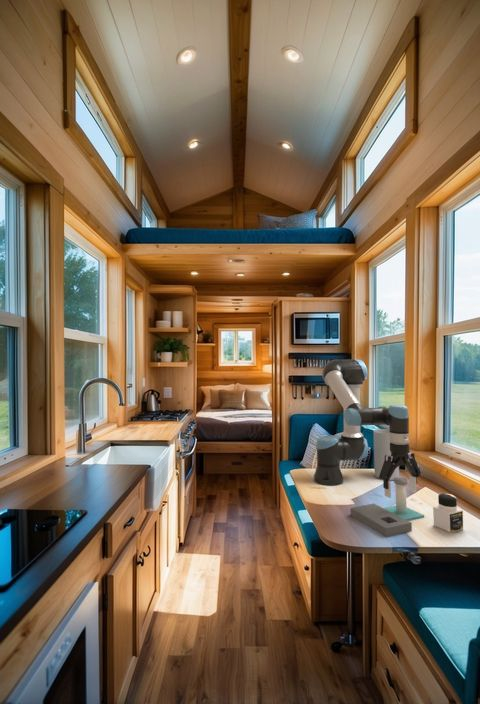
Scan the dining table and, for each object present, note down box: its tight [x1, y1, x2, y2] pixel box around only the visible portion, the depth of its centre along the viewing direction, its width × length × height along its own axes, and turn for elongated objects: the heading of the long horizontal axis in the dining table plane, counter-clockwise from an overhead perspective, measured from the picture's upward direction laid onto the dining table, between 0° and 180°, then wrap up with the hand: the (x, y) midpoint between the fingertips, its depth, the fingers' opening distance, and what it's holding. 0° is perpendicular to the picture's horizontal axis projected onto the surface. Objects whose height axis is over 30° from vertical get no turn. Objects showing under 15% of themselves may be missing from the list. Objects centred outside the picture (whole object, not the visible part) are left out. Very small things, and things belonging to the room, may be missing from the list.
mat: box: [383, 505, 425, 522], centre depth 148 cm, size 12×12×1 cm
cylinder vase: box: [373, 428, 400, 481], centre depth 197 cm, size 12×12×25 cm
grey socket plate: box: [350, 503, 413, 538], centre depth 140 cm, size 20×12×3 cm, turn 21°
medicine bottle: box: [432, 493, 464, 534], centre depth 136 cm, size 7×7×12 cm
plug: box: [393, 476, 408, 514], centre depth 148 cm, size 5×5×14 cm
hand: (400, 494), depth 148 cm, fingers open, 13 cm apart
